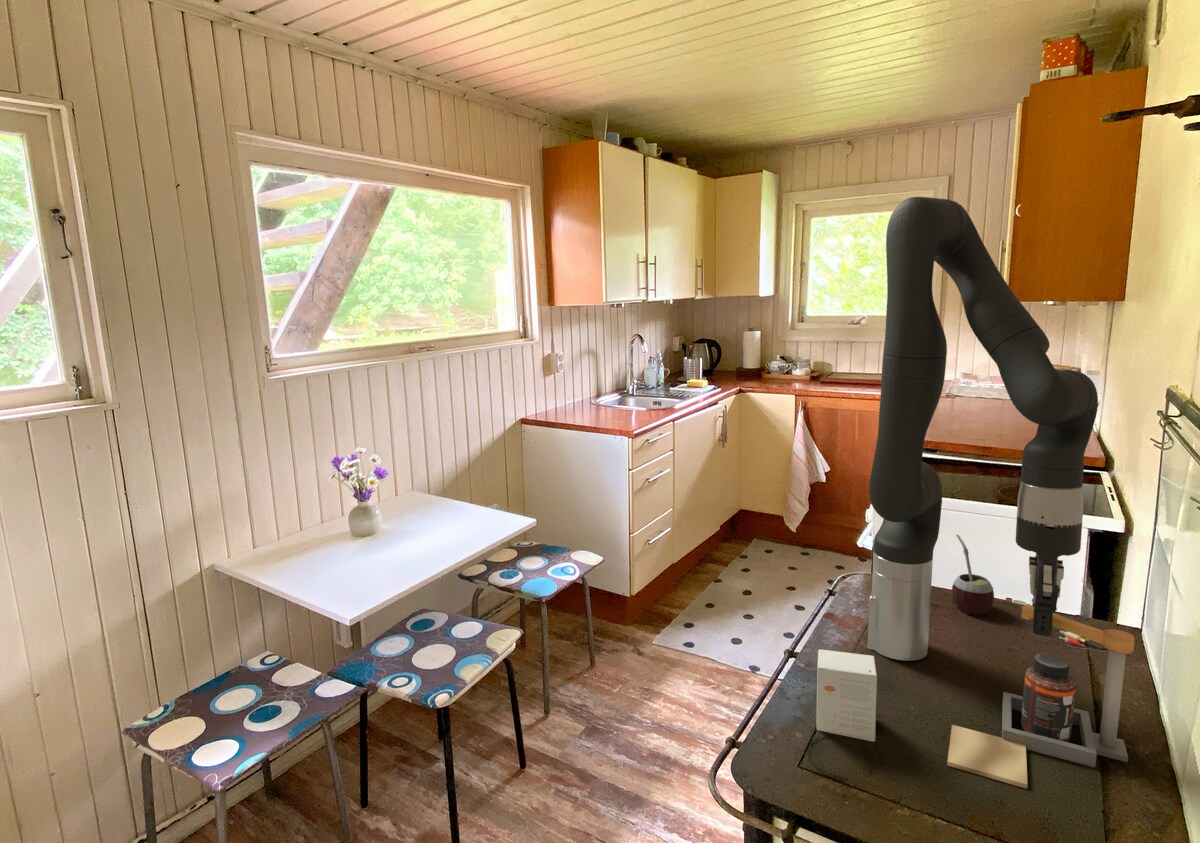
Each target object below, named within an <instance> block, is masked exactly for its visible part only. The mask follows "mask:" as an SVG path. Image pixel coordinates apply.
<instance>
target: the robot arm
mask: <svg viewBox="0 0 1200 843" xmlns="http://www.w3.org/2000/svg"><path fill="white" fill-rule="evenodd" d="M885 234H886V235H885V237H886V238H885V239H886V240H885V244H886V245H885V248H886V249H885V251H886V254H885V255H886V283H887V285H886V286H887V287H886V288H887V290H886V291H887V292H886V294H887V295H886V309H885V310H886V314H885V330H884V332H885V333H884V334H885V335H884V344H883V351H882V352H883V353H882V363H881V366H882V367H881V379H880V380H881V382H880V383H881V384H880V385H881V387H880V397H879V398H880V399H879V409H878V410H879V412H878V414H879V415H878V429H877V439H876V445H875V449H874V456H873V461H872V467H871V470H870V476H869V482H868V496H869V500H870V503H871V507H872V508H873V509H874V511H875V513H876V514H878V516H880V517H881V518H882V519H883V521H882V523H881V525H880V527H879V529H878V530H877V532H876V534H875V535H874V539H873V554H872V555H873V558H872V559H873V560H872V580H871V581H872V582H871V584H872V585H871V594H870V596H869V598H868V599H869V600H868V602H869V603H868V622H867V625H868V627H867V649H868V650H871V651H875V652H876V653H878V654H880V655H881V656H884V657H886V658H888V659H892V660H893V659H894V660H897V661H907V662H908V661H918V660H922V659H924V658H925V657H926V656H928V651H929V650H928V648H929V633H930V632H929V630H930V617H931V616H930V615H931V614H930V612H931V595H932V581H933V580H932V579H933V562H934V561H933V560H934V550H935V547H936V543H937V541H938V539H939V534H940V525H941V524H940V523H941V515H942V514H941V513H942V505H943V504H942V503H943V487H942V482H941V478H940V476H939V474H938V473H937V471H936V470H935V468H933V467H932V466H931V465H929V464H928V463H926V462H925V461H923V453H924V444H925V440H926V439H925V438H926V436H927V431H928V429H929V427H930V424H931V421H932V420H933V417H934V415H935V413H936V411H937V407H938V404H939V402H940V398H941V395H942V393H943V389H944V384H945V376H946V366H947V355H948V344H947V339H946V338H947V337H946V334H945V331H944V328H943V324H942V321H941V319H940V317H939V313H938V310H937V307H936V305H935V301H934V296H933V294H934V293H933V275H934V264H935V263H936V264H937V265H939V266H940V267H941V268H942V269H943V270H944V271H945V272H946V273H947V275H949V277H950V278H951V279H952V281H953V282H954V283H955V284H954V285H955V286H956V288H957V290H958V293H959V294H960V297H961V300H962V305H963V309H964V310H963V311H964V313H965V317H966V319H967V323H968V325H969V327H970V328H971V330H972V332H973V334H974V335H975V337H976V338H977V340H978V341H979V343H980V344H981V346H982V347H983V348H984V350H985V351H986V352H987V355H989V356H990V358H991V359H992V361H994V363H995V364H996V366H997V368H998V371H999V375H1000V378H1001V380H1002V382H1003V385H1004V388H1005V390H1006V393H1007V394H1008V397H1009V399H1010V401H1011V402H1012V405H1013V406H1014V407H1015V408H1016V410H1017V411H1018V412H1019V413H1020V414H1021V415H1022V417H1024V418H1026V419H1027V420H1029V421H1030V422H1032V423H1034V424H1037V425H1038V426H1037V429H1036V434H1035V436H1034V437H1033V438H1032V439H1031V440H1030V441H1029V442H1027V443H1026V445H1025V446H1024V448H1023V452H1022V457H1021V459H1022V460H1021V469H1020V470H1021V471H1020V472H1021V474H1020V487H1019V490H1018V495H1017V508H1016V510H1017V511H1016V525H1015V526H1016V527H1015V543H1016V545H1017V546H1018V547H1019V548H1021V549H1023V550H1025V551H1028V552H1034V553H1035V556H1030V555H1029V556H1028V567H1029V568H1028V570H1029V575H1030V576H1029V589H1030V591H1029V592H1030V593H1031V595H1032V598H1031V603H1032V604H1031V605H1032V606H1033V609H1034V611H1033V619H1032V632H1033V634H1034V635H1035V636H1041V637H1042V636H1043V637H1051V636H1052V634H1053V633H1052V632H1053V625H1052V620H1053V613H1055V614H1056V611H1058V608H1057V604H1058V599H1059V598H1060V596H1061V587H1062V585H1061V584H1062V580H1063V579H1064V577H1065V576H1064V574H1065V572H1064V571H1065V566H1064V565H1063V564H1064V562H1063V561H1064V560H1062V559H1058V558H1059V557H1062V556H1063V557H1064V556H1066V557H1069V556H1073V555H1077V554H1078V553H1079V552H1081V547H1082V546H1081V545H1082V535H1083V534H1082V532H1083V517H1084V515H1083V514H1084V493H1083V486H1084V485H1083V484H1084V470H1085V459H1084V458H1085V453H1086V449H1087V446H1088V444H1089V441H1090V439H1091V435H1092V431H1093V428H1094V425H1095V421H1096V419H1097V414H1098V408H1099V407H1098V406H1099V396H1098V390H1097V387H1096V385H1095V383H1094V382H1093V380H1092V379H1091V378H1090V377H1089V376H1088V375H1086V374H1085V373H1083V372H1080V371H1077V370H1072V369H1071V370H1070V369H1068V370H1067V369H1064V370H1057V369H1056V368H1055V367H1054V365H1053V364H1052V361H1051V360H1050V358H1049V356H1048V355H1047V353H1048V351H1049V349H1050V340H1049V338H1048V337H1047V335H1046V333H1045V332H1044V330H1043V329H1042V328H1041V326H1040V325H1039V324H1038V323H1037V322H1036V320H1035V319H1034V318H1033V316H1032V315H1031V314H1030V312H1029V311H1028V310H1027V309H1026V307H1025V306H1024V304H1022V302H1021V301H1020V300H1019V299H1018V297H1017V295H1015V293H1014V291H1013V290H1012V289H1011V288H1010V286H1009V285H1008V283H1007V281H1006V280H1005V279H1004V277H1003V275H1002V274H1001V273H1000V270H999V269H998V267H997V266H996V264H995V262H994V260H993V258H992V256H991V255H990V253H989V251H988V250H987V247H986V246H985V244H984V242H983V240H982V238H981V236H980V234H979V232H978V229H977V227H976V226H975V224H974V221H973V219H972V218H971V217H970V215H969V213H968V212H967V210H966V208H965V207H963V205H961V204H960V203H959V202H957V201H954V200H951V199H947V198H938V197H928V196H912V197H909V198H908V197H907V198H906V199H904V200H902V201H901V202H900V203H898V205H897V206H896V207H895V208H894V210H893V212H892V214H891V215H890V218H889V219H888V223H887V228H886V233H885Z"/></svg>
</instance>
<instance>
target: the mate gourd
mask: <svg viewBox="0 0 1200 843" xmlns="http://www.w3.org/2000/svg"><path fill="white" fill-rule="evenodd" d="M956 537H957V540H958V541H959V542H960V544H961V546H962V549H963V550H962V551H963V555H964V557H965V562H966V568H967V573H963V574H959V575H958V576H957V577H956V579H954V581H953V584H952V587H951V588H952V589H951V596H952V604H954V605H955V606H956V608H957V609H958V610H960V611H961V612H963V613H965V615H966V616H969V615H974V616H981V615H990V614H991V612H992V610H993V605H994V598H995V593H994V592H995V591H994V587H993V586H992V583H991V582H990V580H989V579H987V578H986V577H985V576H982V575H978V574H973V573H972V568H971V564H970V563H971V562H970V557H969V549H968V548H967V545H966V544H965V541H964V540H962V537H961V536H960V535H959V534H956Z"/></svg>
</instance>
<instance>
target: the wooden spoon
mask: <svg viewBox="0 0 1200 843" xmlns="http://www.w3.org/2000/svg"><path fill="white" fill-rule="evenodd" d="M1033 611H1034V609H1033V606H1032V604H1029V603H1027V604H1025V605H1022V606H1021V615H1020V616H1021V619H1024V620H1026V621H1030V620H1033ZM1052 627H1056V628H1058V629H1060V630H1062V631H1065V632H1068V631H1069V632H1071V633H1074V634H1077V635H1079V636H1081V637H1082V638H1084V639H1086V640H1091V641H1092V642H1094V643H1095V642H1096V643H1098V644H1101V645H1102V646H1103V648H1107V649H1106V650H1108V651H1109V650H1111V651H1114V652H1118V653H1124V654H1128V655H1129V654H1132V653H1134V649H1135V648H1134V647H1135V641H1136V640H1135V639H1136V637H1135V636H1134V635H1133V634H1131V633H1129V632H1126V631H1123V630H1120V629H1115V628H1109V629H1107V628H1106V629H1105V630H1102V629H1099V628H1097V627H1094V626H1090V625H1088V624H1085V623H1082V622H1079V621H1076V620H1073V619H1071V618H1068V617H1065V616H1063V615H1059V614H1057V613H1056V612H1055V613H1053V620H1052Z"/></svg>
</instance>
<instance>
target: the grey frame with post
mask: <svg viewBox="0 0 1200 843" xmlns="http://www.w3.org/2000/svg"><path fill="white" fill-rule="evenodd" d="M1107 654H1108V655H1107V664H1106V665H1107V666H1106V672H1105V673H1106V674H1105V682H1104V683H1105V684H1104V692H1103V701H1102V712H1101V722H1100V728H1099V729H1100V730H1099V733H1097V732H1094V731H1093V729H1092V724H1091V718H1090V714H1089V711H1087V710H1083V709H1080V708H1079V709H1078V708H1075V707H1074V711H1073V723H1072V726H1073V725H1075V726H1078V727H1079V732H1080V739H1081V745H1079V744H1075V743H1071V742H1064V741H1060V740H1056V739H1052V738H1048V737H1045V736H1041V735H1037V734H1033V733H1029V732H1025V731H1024V730H1021V729H1016V728H1013V727H1012V710H1014V711H1018V712H1020V713H1022V706H1023V696H1022V695H1019V694H1014V693H1010V692H1006V691H1003V693H1002V711H1001V712H1002V713H1001V714H1002V715H1001V716H1002V719H1001V720H1002V721H1001V722H1002V723H1001V724H1002V725H1001V728H1002V731H1001V738H1002V739H1005V740H1008V741H1012V742H1016V743H1020V744H1024V745H1026V751H1032V752H1035V753H1039V754H1042V755H1046V756H1051V757H1055V758H1057V759H1060V760H1061V759H1062V760H1066V761H1069V762H1072V763H1076V764H1079V765H1083V766H1088V767H1091V768H1096V764H1097V755H1098V756H1101V757H1105V758H1109V759H1112V760H1116V761H1120V762H1126V763H1128V761H1129V755H1128V750H1127V747H1126V743H1125V740H1124V739H1121V738H1119V737H1118V738H1117V736H1118V729H1119V719H1120V712H1121V710H1120V709H1121V703H1122V702H1121V701H1122V691H1123V683H1124V676H1125V675H1124V674H1125V667H1126V654H1124V653H1118V652H1114V651H1111V650H1109V649H1108V653H1107Z"/></svg>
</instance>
